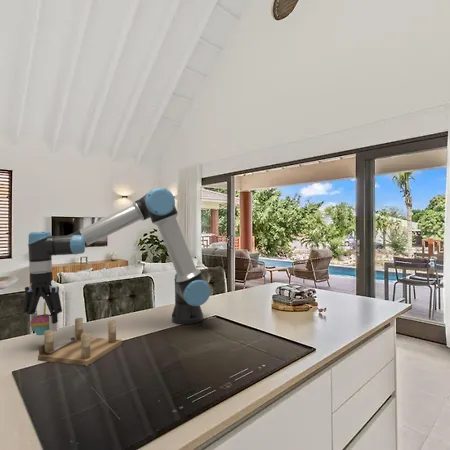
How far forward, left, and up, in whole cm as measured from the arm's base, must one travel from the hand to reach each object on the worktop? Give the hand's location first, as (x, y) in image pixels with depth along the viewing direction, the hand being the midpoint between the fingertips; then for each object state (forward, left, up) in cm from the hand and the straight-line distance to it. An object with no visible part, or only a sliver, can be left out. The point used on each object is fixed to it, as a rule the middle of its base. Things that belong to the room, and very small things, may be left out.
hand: (43, 331), depth 124 cm
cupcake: (0, 0, -1) cm, 1 cm away
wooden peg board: (-18, 0, -6) cm, 19 cm away
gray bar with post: (-10, +2, -4) cm, 11 cm away
